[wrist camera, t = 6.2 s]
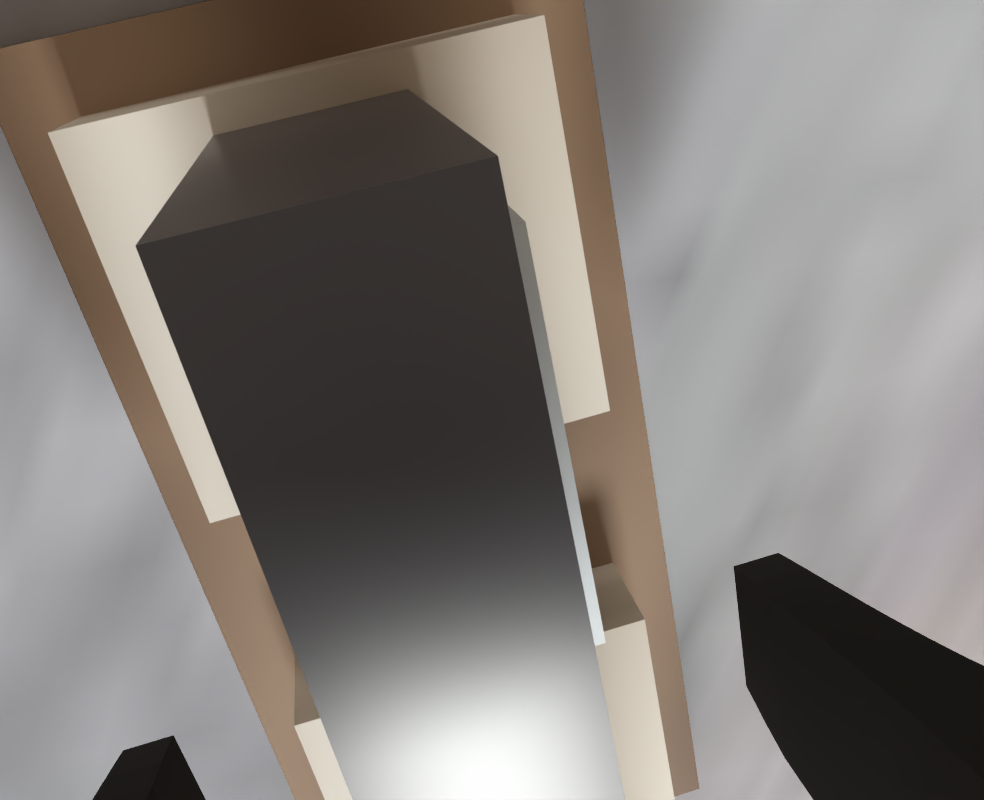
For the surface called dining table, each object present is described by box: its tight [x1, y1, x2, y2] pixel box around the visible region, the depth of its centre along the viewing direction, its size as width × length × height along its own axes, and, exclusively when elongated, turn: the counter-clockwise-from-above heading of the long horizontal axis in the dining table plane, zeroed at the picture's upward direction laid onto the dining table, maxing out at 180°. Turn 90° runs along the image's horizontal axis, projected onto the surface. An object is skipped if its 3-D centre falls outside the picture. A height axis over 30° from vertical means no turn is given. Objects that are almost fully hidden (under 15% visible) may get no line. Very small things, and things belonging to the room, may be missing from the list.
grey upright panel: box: [136, 89, 625, 800], centre depth 11 cm, size 14×3×6 cm, turn 12°
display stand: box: [0, 0, 699, 800], centre depth 14 cm, size 8×17×5 cm, turn 12°
